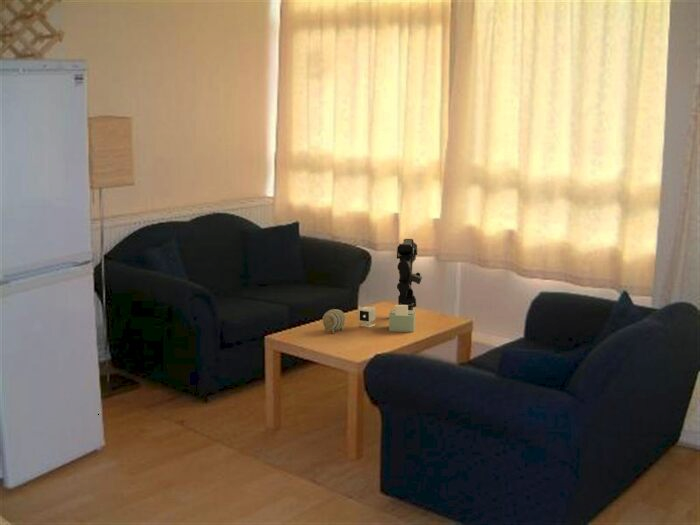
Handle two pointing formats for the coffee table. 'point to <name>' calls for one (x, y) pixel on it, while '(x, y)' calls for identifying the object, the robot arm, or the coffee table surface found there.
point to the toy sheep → (333, 320)
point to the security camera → (367, 316)
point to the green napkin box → (410, 312)
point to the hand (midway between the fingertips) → (404, 299)
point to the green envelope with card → (401, 320)
